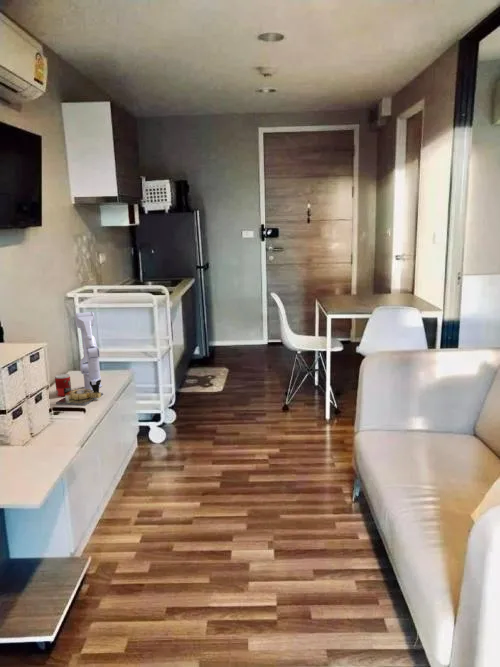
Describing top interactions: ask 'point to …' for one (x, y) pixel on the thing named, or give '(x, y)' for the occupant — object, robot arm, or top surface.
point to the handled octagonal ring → (84, 394)
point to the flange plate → (69, 401)
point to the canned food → (63, 384)
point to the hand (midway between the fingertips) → (96, 394)
